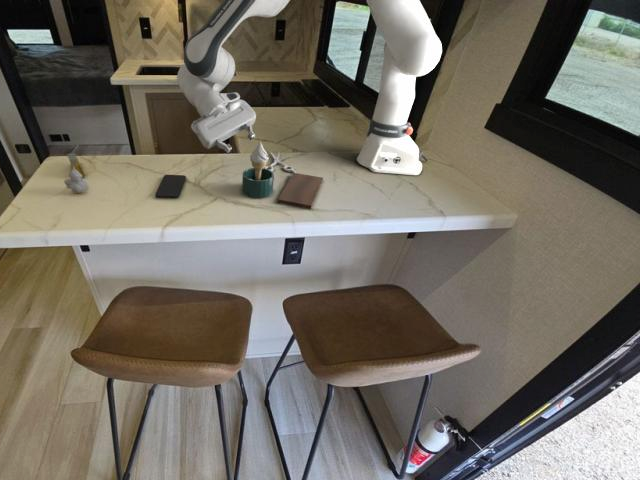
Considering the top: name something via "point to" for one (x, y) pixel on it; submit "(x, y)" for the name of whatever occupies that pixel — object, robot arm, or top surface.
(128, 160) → the top surface
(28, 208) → the top surface
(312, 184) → the board
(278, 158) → the scissors
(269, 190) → the cup
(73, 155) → the medication box
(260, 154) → the ice cream cone
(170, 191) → the phone
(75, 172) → the grey lumpy piece
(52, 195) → the top surface
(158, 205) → the top surface
